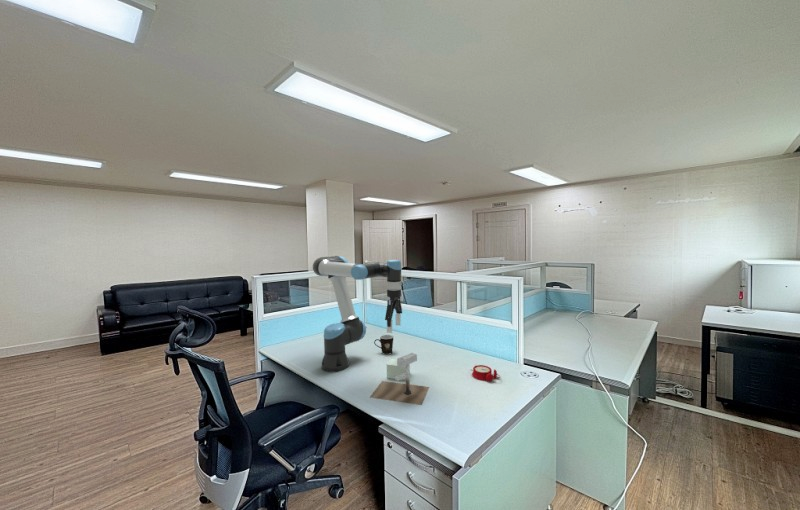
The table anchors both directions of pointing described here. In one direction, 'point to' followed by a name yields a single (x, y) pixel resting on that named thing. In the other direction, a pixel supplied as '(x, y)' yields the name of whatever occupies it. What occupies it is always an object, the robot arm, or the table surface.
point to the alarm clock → (484, 373)
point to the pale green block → (395, 369)
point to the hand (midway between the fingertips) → (393, 328)
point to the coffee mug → (386, 343)
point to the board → (400, 392)
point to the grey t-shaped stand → (406, 368)
